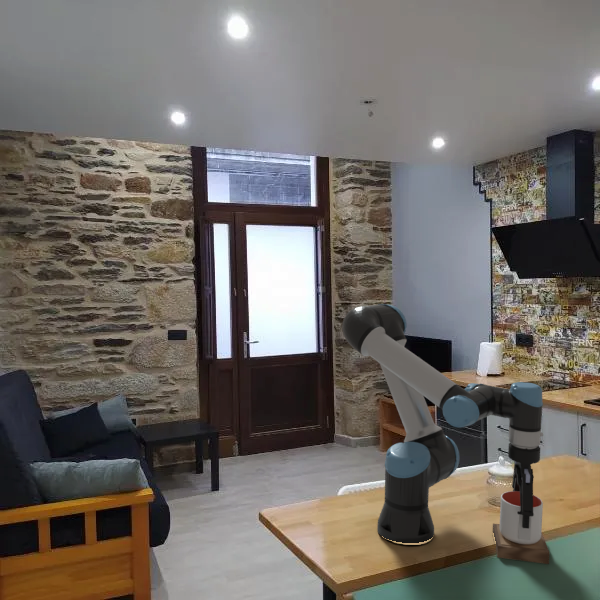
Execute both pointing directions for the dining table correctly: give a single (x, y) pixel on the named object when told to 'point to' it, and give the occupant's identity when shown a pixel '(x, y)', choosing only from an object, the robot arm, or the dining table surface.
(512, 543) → the base
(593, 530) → the dining table surface
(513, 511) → the cup
